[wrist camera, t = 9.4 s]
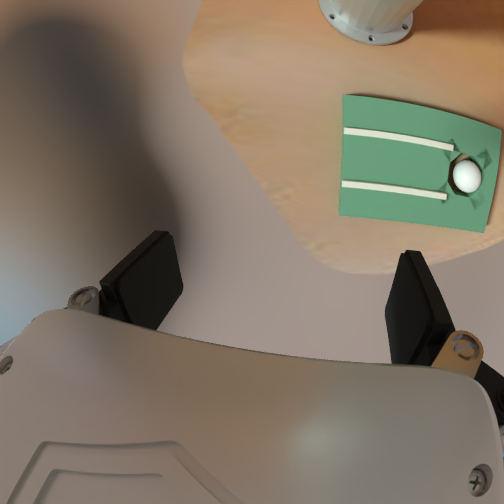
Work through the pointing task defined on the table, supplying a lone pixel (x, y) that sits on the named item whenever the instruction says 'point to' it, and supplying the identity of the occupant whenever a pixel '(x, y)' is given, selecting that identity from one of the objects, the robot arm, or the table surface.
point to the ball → (467, 176)
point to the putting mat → (413, 164)
